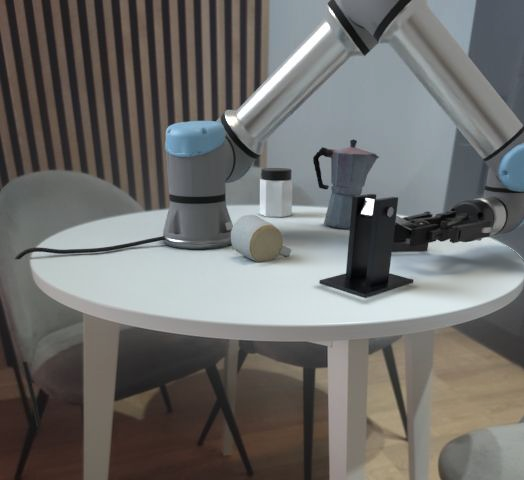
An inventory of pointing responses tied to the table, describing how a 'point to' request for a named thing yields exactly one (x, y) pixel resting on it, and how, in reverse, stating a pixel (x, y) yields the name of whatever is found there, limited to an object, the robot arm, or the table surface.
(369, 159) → the moka pot
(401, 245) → the control block
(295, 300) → the table surface
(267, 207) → the jar
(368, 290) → the bracket
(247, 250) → the ceramic mug
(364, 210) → the lever
